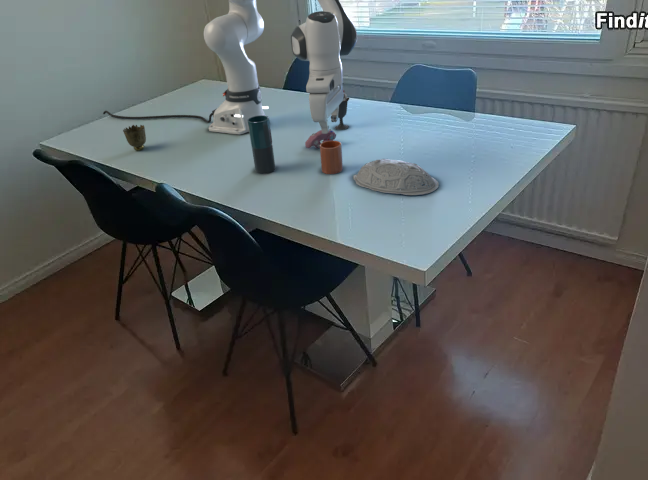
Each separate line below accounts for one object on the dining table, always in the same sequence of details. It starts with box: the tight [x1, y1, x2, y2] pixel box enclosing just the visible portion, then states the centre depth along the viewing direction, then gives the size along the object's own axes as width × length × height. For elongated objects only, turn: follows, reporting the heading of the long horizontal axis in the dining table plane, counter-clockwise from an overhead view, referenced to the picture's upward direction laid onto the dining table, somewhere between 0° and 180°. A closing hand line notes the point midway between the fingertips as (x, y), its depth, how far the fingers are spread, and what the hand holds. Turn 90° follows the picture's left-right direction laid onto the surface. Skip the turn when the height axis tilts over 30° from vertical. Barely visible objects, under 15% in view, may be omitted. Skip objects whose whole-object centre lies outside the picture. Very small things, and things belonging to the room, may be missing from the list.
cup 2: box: [122, 124, 147, 152], centre depth 194 cm, size 8×7×8 cm
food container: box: [352, 158, 440, 196], centre depth 152 cm, size 16×25×7 cm, turn 52°
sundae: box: [334, 82, 350, 131], centre depth 190 cm, size 7×7×15 cm
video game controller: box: [304, 128, 337, 149], centre depth 179 cm, size 10×5×7 cm, turn 118°
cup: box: [319, 140, 344, 175], centre depth 162 cm, size 6×6×8 cm
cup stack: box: [247, 115, 277, 175], centre depth 165 cm, size 6×6×16 cm
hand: (330, 127), depth 157 cm, fingers open, 8 cm apart
